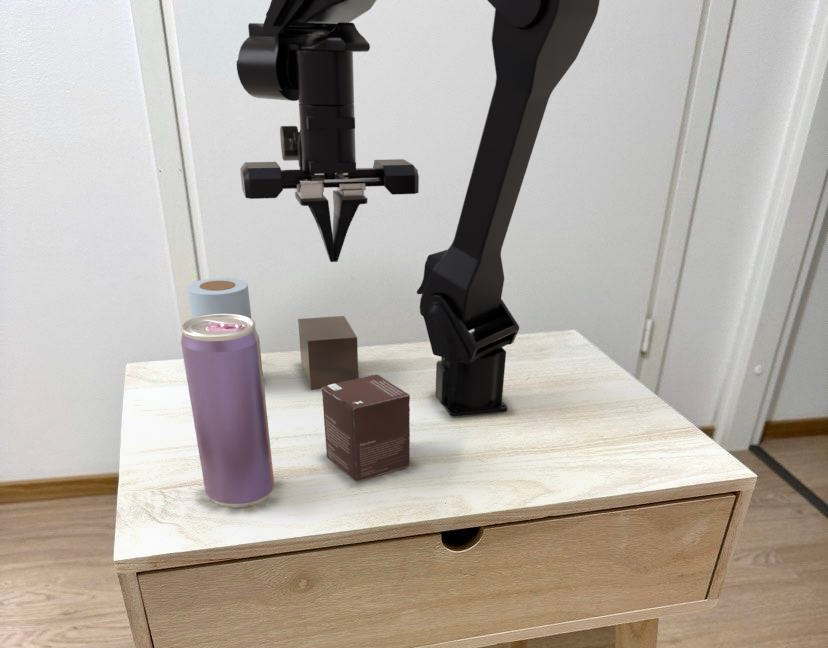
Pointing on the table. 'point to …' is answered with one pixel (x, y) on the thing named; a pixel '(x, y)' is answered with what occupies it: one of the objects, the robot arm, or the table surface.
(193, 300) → the light blue cylinder
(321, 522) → the table surface
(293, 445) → the table surface
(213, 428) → the beverage can
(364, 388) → the box
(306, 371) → the walnut block
